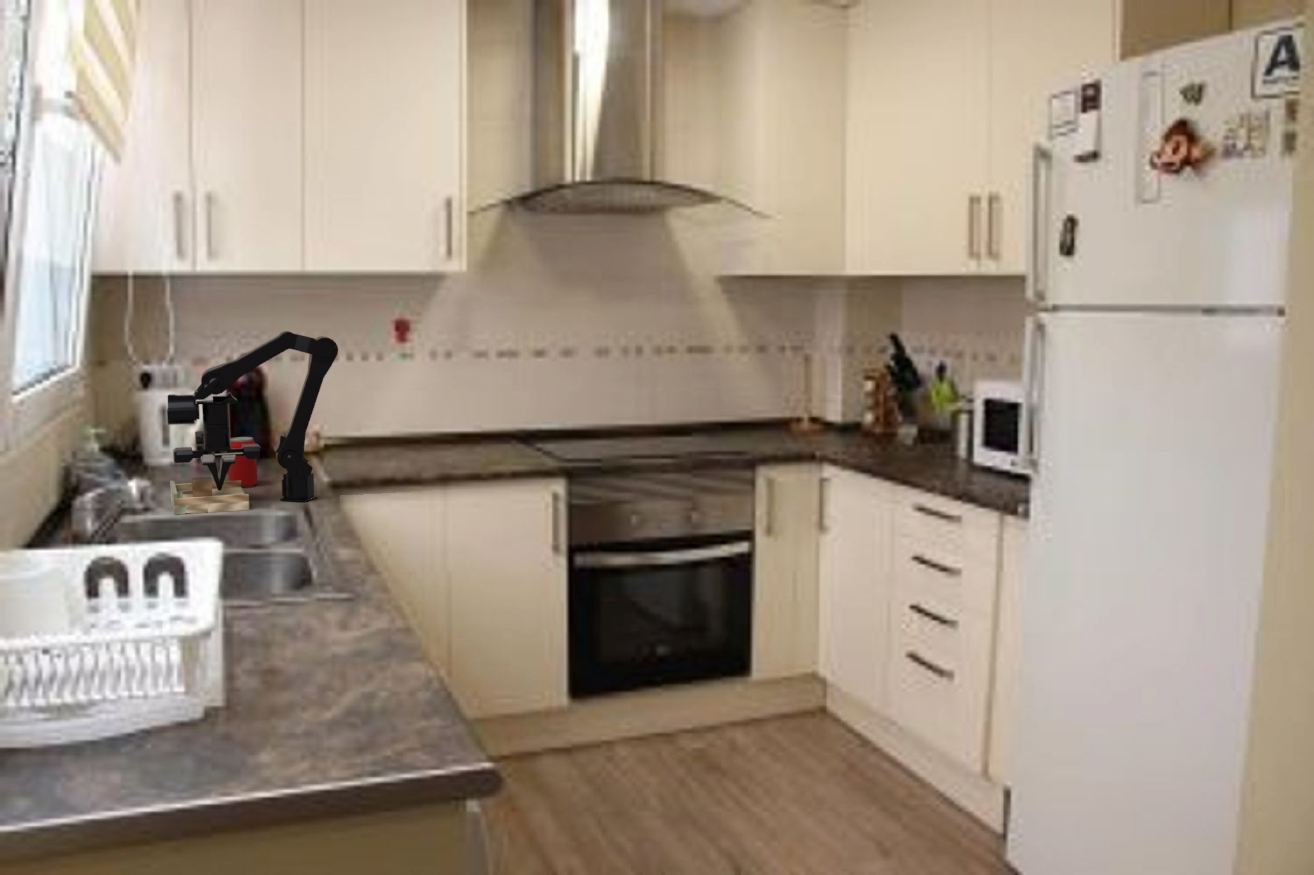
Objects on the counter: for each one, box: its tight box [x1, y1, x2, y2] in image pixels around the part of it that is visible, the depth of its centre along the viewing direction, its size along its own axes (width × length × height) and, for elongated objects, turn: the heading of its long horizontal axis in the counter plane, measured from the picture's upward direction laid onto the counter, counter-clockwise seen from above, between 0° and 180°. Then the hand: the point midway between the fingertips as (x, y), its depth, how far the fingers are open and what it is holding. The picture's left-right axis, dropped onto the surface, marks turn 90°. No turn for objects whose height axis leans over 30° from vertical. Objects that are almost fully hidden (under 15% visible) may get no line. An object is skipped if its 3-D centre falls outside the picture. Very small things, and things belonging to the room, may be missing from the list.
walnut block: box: [191, 476, 213, 497], centre depth 257 cm, size 4×4×4 cm
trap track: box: [169, 480, 250, 515], centre depth 258 cm, size 16×19×4 cm
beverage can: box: [227, 436, 258, 488], centre depth 281 cm, size 7×7×12 cm
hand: (219, 490), depth 259 cm, fingers closed
